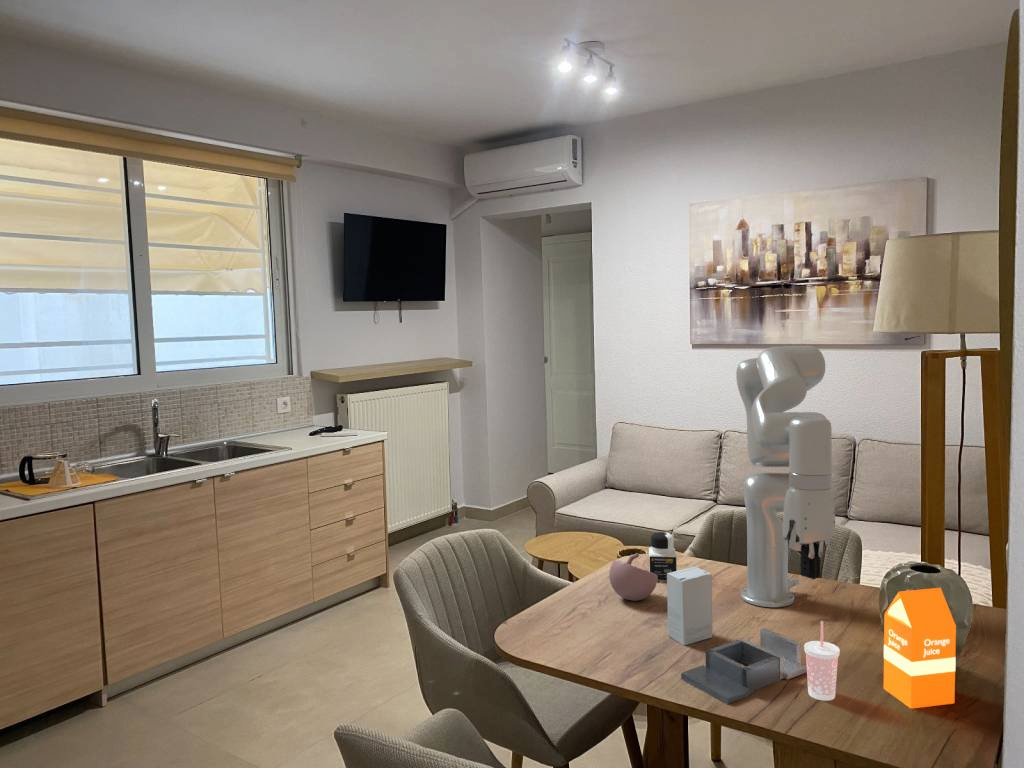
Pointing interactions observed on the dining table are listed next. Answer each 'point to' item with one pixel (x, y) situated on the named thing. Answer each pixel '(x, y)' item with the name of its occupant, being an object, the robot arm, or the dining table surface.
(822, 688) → the beverage cup
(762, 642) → the gray u-channel trough
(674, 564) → the medicine bottle
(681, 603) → the skincare box
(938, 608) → the orange juice
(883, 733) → the dining table surface
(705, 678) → the fixed leaf
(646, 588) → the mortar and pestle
